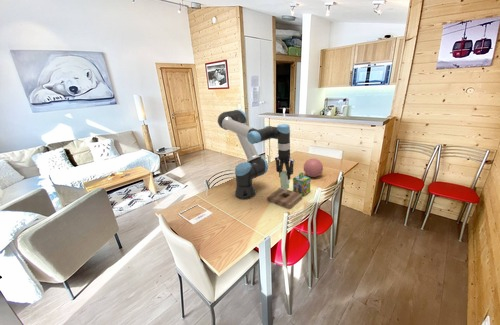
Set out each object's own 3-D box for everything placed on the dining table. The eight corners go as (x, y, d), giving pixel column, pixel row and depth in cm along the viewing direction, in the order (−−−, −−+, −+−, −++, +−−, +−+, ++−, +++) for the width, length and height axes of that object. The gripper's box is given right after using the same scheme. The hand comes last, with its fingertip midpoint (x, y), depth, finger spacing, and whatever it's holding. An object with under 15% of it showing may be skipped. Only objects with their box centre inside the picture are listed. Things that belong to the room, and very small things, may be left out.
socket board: (267, 200, 146) (267, 196, 144) (280, 191, 157) (280, 187, 155) (289, 209, 134) (289, 204, 133) (302, 198, 145) (302, 194, 144)
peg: (280, 188, 142) (280, 172, 138) (284, 186, 144) (283, 170, 140) (285, 190, 139) (285, 173, 135) (289, 187, 142) (288, 171, 138)
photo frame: (192, 224, 126) (178, 213, 138) (193, 225, 126) (178, 215, 138) (212, 212, 135) (197, 203, 147) (212, 214, 136) (197, 205, 148)
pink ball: (328, 173, 180) (329, 156, 175) (316, 181, 167) (317, 163, 162) (312, 169, 191) (312, 153, 185) (299, 177, 178) (300, 159, 173)
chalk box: (303, 196, 147) (303, 177, 142) (292, 192, 154) (292, 174, 149) (310, 191, 153) (311, 173, 148) (300, 188, 160) (300, 170, 154)
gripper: (269, 148, 136) (271, 181, 143) (292, 152, 124) (293, 188, 132) (276, 146, 141) (277, 177, 149) (299, 149, 129) (299, 183, 137)
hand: (284, 182), depth 140 cm, fingers closed on peg, 4 cm apart
